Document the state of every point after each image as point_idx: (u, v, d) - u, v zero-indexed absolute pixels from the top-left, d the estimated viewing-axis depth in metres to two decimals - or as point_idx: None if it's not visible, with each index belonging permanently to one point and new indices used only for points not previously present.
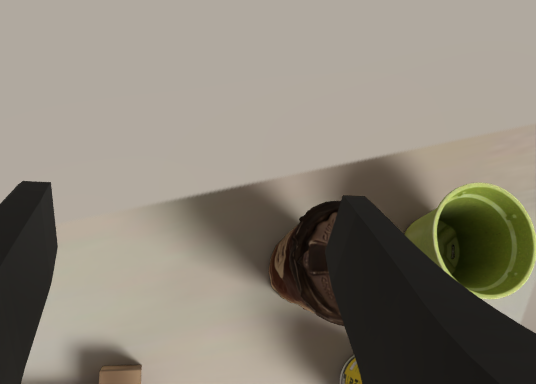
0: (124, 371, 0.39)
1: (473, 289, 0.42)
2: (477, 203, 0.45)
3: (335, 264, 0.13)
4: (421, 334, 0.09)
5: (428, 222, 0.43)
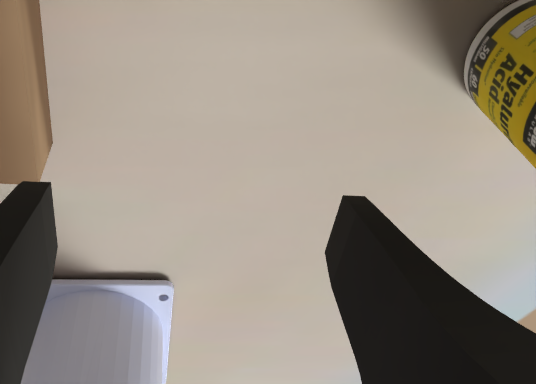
0: None
1: None
2: None
3: (334, 264, 0.13)
4: (421, 334, 0.09)
5: None
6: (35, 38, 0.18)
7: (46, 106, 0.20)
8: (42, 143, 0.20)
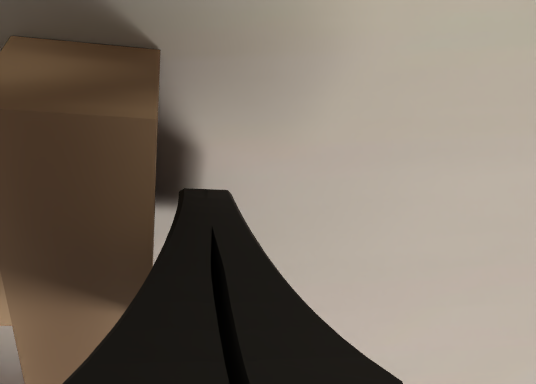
0: (83, 115, 0.09)
1: None
2: None
3: None
4: (229, 337, 0.09)
5: None
6: None
7: None
8: None
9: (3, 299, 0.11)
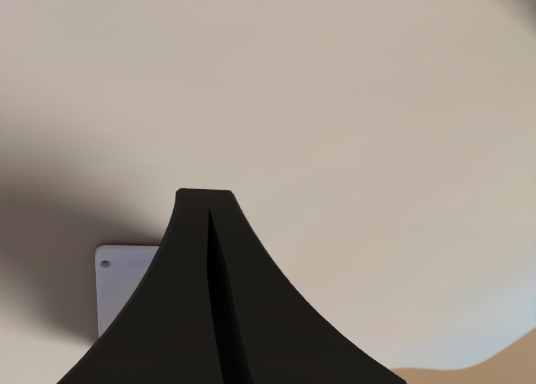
0: None
1: None
2: None
3: None
4: (232, 337, 0.09)
5: None
6: None
7: None
8: None
9: None
